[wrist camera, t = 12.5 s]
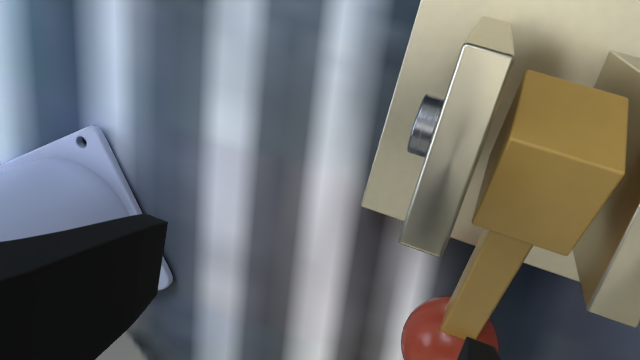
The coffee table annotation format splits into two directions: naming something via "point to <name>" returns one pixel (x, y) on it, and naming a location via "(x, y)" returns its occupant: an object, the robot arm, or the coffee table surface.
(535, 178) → the lever
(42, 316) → the robot arm
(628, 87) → the tap bracket
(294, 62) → the coffee table surface
